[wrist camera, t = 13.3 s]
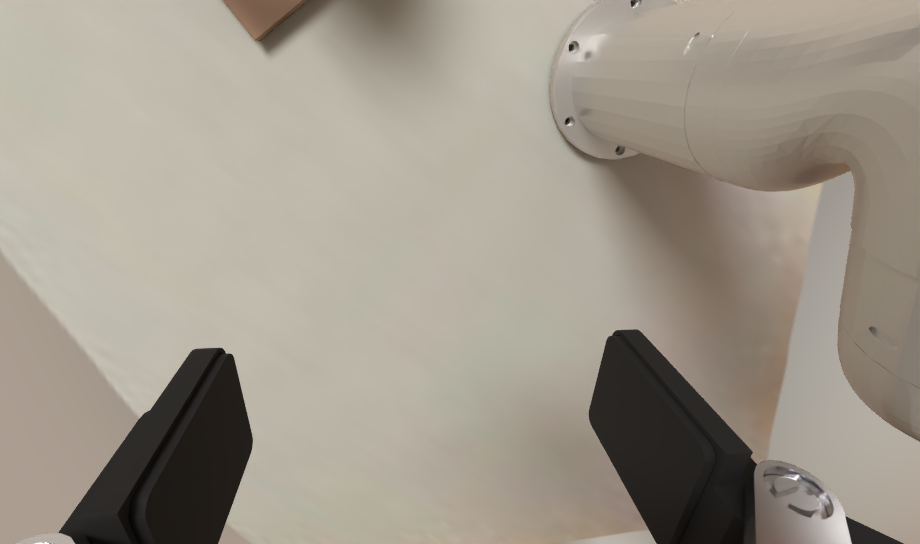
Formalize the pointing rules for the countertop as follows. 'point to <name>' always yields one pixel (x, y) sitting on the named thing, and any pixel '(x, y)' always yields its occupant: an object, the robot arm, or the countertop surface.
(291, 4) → the ring board
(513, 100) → the countertop surface
